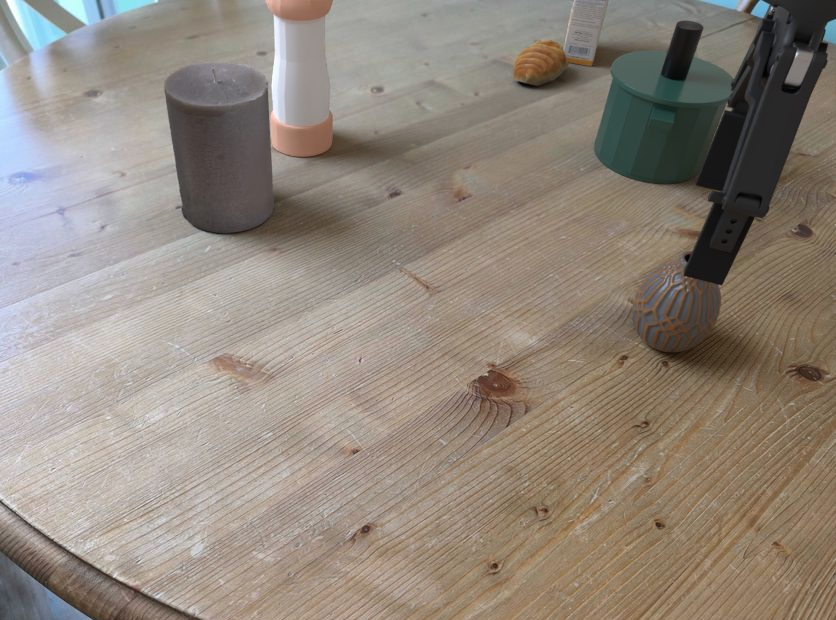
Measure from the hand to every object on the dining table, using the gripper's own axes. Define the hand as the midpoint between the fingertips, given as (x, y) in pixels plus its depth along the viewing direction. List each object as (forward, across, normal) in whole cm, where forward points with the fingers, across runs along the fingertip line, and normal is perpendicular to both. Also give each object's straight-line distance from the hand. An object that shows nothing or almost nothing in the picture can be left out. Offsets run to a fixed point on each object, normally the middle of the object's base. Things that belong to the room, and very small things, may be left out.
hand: (707, 229), depth 59 cm
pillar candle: (+12, -2, -45) cm, 46 cm away
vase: (+12, 0, 0) cm, 12 cm away
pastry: (+12, -50, -22) cm, 56 cm away
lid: (+2, -33, -5) cm, 34 cm away
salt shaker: (+12, -18, -44) cm, 49 cm away
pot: (+12, -33, -5) cm, 35 cm away
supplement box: (+12, -60, -18) cm, 64 cm away
